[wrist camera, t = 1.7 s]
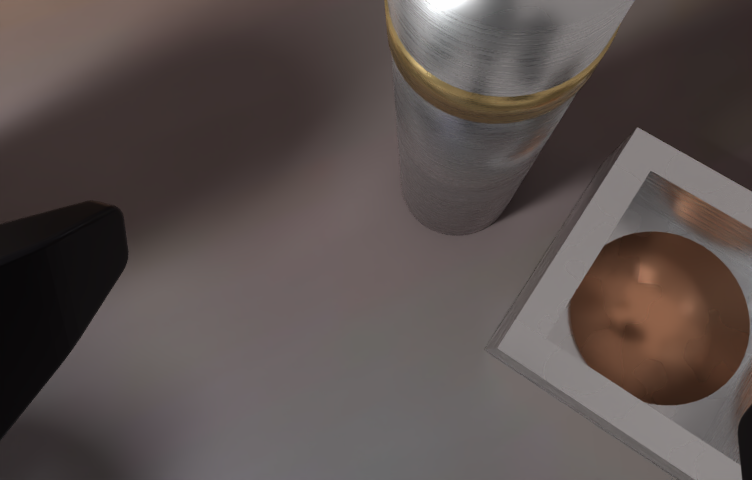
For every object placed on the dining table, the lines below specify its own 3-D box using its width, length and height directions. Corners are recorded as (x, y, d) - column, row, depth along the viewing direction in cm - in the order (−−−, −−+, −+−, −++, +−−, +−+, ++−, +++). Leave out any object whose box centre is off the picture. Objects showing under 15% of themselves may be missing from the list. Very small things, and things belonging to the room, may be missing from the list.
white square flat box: (700, 493, 18) (758, 522, 15) (484, 349, 19) (497, 348, 16) (816, 285, 19) (893, 271, 16) (603, 161, 20) (637, 127, 17)
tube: (473, 258, 20) (581, 86, 7) (377, 197, 21) (319, -59, 8) (535, 165, 20) (735, -148, 8) (439, 108, 21) (478, -266, 8)
